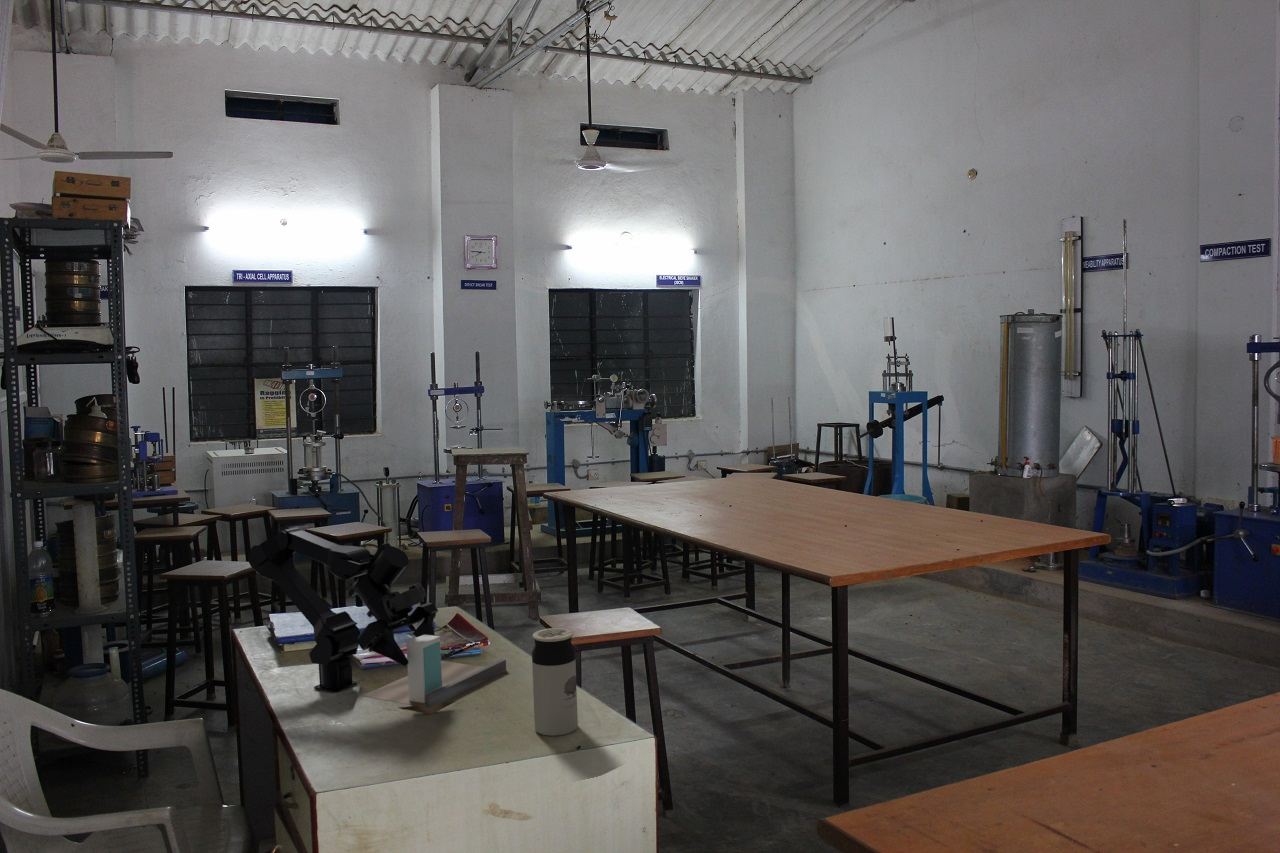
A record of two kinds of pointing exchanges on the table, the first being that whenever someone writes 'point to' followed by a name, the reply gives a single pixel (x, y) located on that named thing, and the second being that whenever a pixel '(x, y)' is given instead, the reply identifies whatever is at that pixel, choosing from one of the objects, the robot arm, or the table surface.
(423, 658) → the product box
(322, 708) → the table surface
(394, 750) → the table surface
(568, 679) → the travel mug
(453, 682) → the shelf board
